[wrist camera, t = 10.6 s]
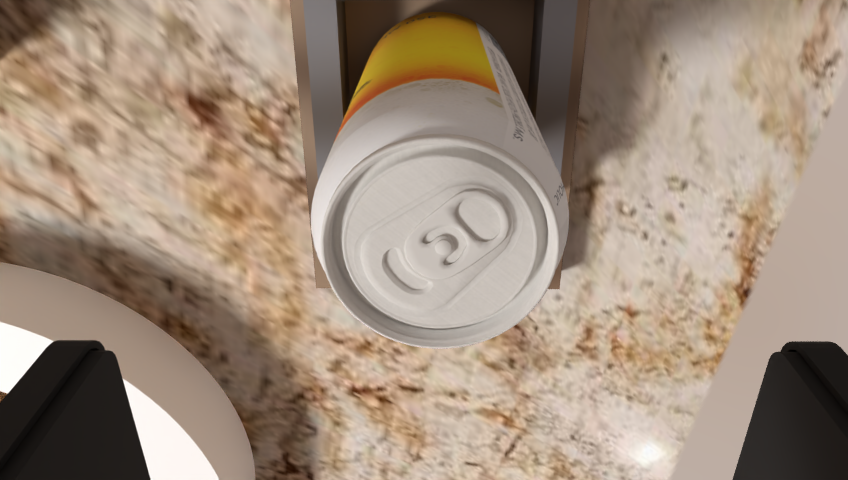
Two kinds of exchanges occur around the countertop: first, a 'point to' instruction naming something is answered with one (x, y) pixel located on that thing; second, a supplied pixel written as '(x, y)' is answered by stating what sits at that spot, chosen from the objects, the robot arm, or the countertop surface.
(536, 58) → the wooden tray with frame
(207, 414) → the white circle with bar
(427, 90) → the beer can
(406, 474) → the countertop surface
